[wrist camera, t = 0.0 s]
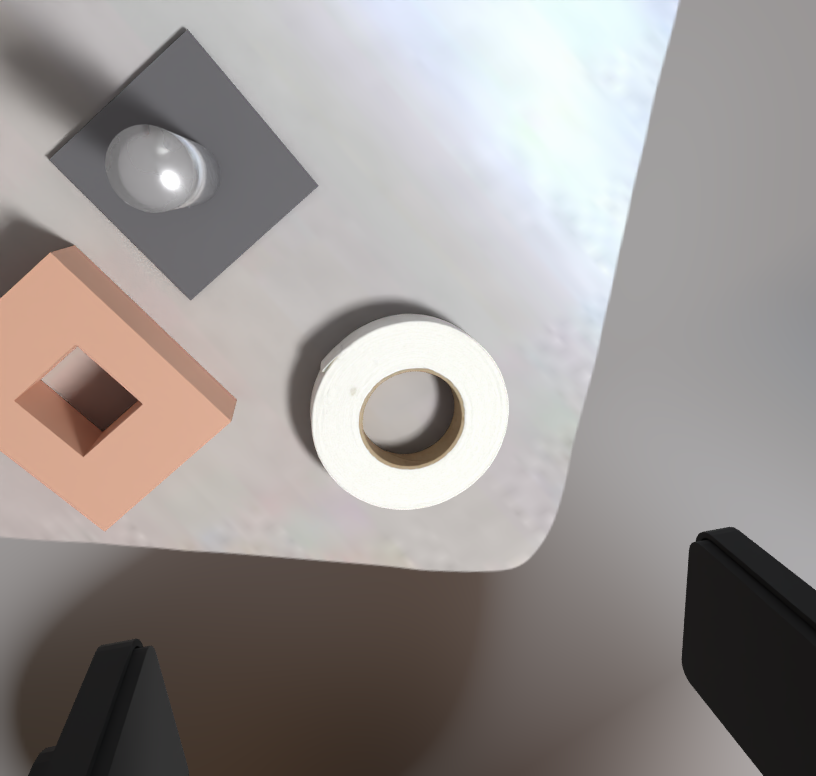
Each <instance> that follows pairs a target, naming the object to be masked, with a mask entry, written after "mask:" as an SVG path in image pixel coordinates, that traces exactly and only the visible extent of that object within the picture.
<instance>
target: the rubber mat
mask: <svg viewBox="0 0 816 776" xmlns="http://www.w3.org/2000/svg"><path fill="white" fill-rule="evenodd" d="M135 125H153V126H157V127H160V128H163V129H165V130H167V131H170V132H172V133H175V134H177V135H179V136H182V137H184V138H187V139H189V140H191V141H194V142H196V143H199V144H201V145H202V146H204V147H206V148H207V149H208V150H209V151H210V152H211V153H212V154H213V155H214V157H215V158H216V160H217V162H218V165H219V168H220V175H221V177H220V184H219V187H218V189H217V191H216V193H215V194H214V195H213V196H212V197H211V198H210V199H209V200H207V201H206V202H203V203H200V204H196V205H192V206H187V207H183V208H178V209H174V210H169V211H165V212H158V213H151V212H145V211H141V210H138V209H136V208H134V207H132V206H130V205H129V204H127V203H126V202H124V201H123V200H122V199H121V198H120V197H119V196H118V195H117V193H116V192H115V191H114V189H113V188H112V186H111V184H110V182H109V180H108V177H107V173H106V167H105V159H106V153H107V150H108V147H109V145H110V143H111V142H112V140H113V139H114V138H115V136H116V135H117V134H119V133H120V132H121V131H123V130H124V129H126V128H129V127H131V126H135ZM49 160H50V161H51V162H52V163H53V164H54V165H55V166H56V167H57V168H58V169H59V170H60V171H61V172H62V173H63V174H64V175H65V176H66V177H67V178H68V179H69V180H70V181H71V182H72V183H73V184H74V185H75V186H76V187H77V188H78V189H79V190H80V191H81V192H82V193H83V194H84V195H85V196H86V197H87V198H88V199H89V200H90V201H91V202H92V203H93V204H94V205H95V206H96V207H97V208H98V209H99V210H100V211H101V212H102V213H103V214H104V215H105V216H106V217H107V218H108V219H109V220H110V221H111V222H112V223H113V224H114V225H115V226H116V227H117V228H118V229H119V230H120V231H121V232H122V233H123V234H124V235H125V236H126V237H127V238H128V239H129V240H130V241H131V242H132V243H133V244H134V245H135V246H136V247H137V248H138V249H139V250H140V251H141V252H142V253H143V254H144V255H146V256H147V257H148V258H149V259H150V260H151V261H152V262H153V263H154V264H155V265H156V266H157V267H158V268H159V269H160V270H161V271H162V272H163V273H164V274H165V275H166V276H167V277H168V278H169V279H170V280H171V281H172V282H173V283H174V284H175V285H176V286H177V287H178V288H179V289H180V290H181V291H182V292H183V293H184V294H185V295H186V296H187V297H188V298H189V299H190V300H192V299H193V298H194V297H195V296H196V295H197V294H198V293H199V292H201V291H202V290H203V289H204V288H205V287H206V286H207V285H208V284H210V283H211V282H212V281H213V280H214V279H215V278H216V277H217V276H218V275H220V274H221V273H222V272H223V271H224V270H225V269H226V268H227V267H228V266H230V265H231V264H232V263H233V262H234V261H235V260H236V259H237V258H238V257H240V256H241V255H242V254H243V253H244V252H245V251H246V250H247V249H249V248H250V247H251V246H252V245H253V244H254V243H255V242H256V241H257V240H259V239H260V238H261V237H262V236H263V235H264V234H265V233H266V232H267V231H269V230H270V229H271V228H272V227H273V226H274V225H275V224H276V223H278V222H279V221H280V220H281V219H282V218H283V217H284V216H285V215H286V214H288V213H289V212H290V211H291V210H292V209H293V208H294V207H295V206H296V205H298V204H299V203H300V202H301V201H302V200H303V199H304V198H305V197H307V196H308V195H309V194H310V193H311V192H312V191H313V190H314V189H315V188H317V187H318V185H317V183H316V182H315V181H314V180H313V179H312V177H311V176H310V175H309V174H308V173H307V171H306V170H305V169H304V168H303V167H302V165H301V164H300V163H299V162H298V161H297V159H296V158H295V157H294V156H293V155H292V154H291V152H290V151H289V150H288V149H287V148H286V146H285V145H284V144H283V143H282V142H281V140H280V139H279V138H278V137H277V136H276V134H275V133H274V132H273V131H272V130H271V128H270V127H269V126H268V125H267V124H266V122H265V121H264V120H263V119H262V118H261V116H260V115H259V114H258V113H257V112H256V111H255V109H254V108H253V107H252V106H251V105H250V103H249V102H248V101H247V100H246V99H245V97H244V96H243V95H242V94H241V93H240V91H239V90H238V89H237V88H236V87H235V85H234V84H233V83H232V82H231V81H230V79H229V78H228V77H227V76H226V75H225V73H224V72H223V71H222V70H221V69H220V67H219V66H218V65H217V64H216V63H215V62H214V60H213V59H212V58H211V57H210V56H209V54H208V53H207V52H206V51H205V50H204V48H203V47H202V46H201V45H200V44H199V42H198V41H197V40H196V39H195V38H194V36H193V35H192V34H191V33H190V32H189V30H188V29H187V30H186V31H185V32H184V33H183V34H182V35H181V36H180V37H179V38H178V39H177V40H176V41H174V42H173V43H172V44H171V45H170V46H169V47H168V48H167V49H166V50H165V51H164V52H163V53H162V54H161V55H160V56H159V57H157V58H156V59H155V60H154V61H153V62H152V63H151V64H150V65H149V66H148V67H147V68H146V69H145V70H144V71H143V72H142V73H140V74H139V75H138V76H137V77H136V78H135V79H134V80H133V81H132V82H131V83H130V84H129V85H128V86H127V87H126V88H125V89H123V90H122V91H121V92H120V93H119V94H118V95H117V96H116V97H115V98H114V99H113V100H112V101H111V102H110V103H109V104H108V105H106V106H105V107H104V108H103V109H102V110H101V111H100V112H99V113H98V114H97V115H96V116H95V117H94V118H93V119H92V120H91V121H89V122H88V123H87V124H86V125H85V126H84V127H83V128H82V129H81V130H80V131H79V132H78V133H77V134H76V135H75V136H74V137H72V138H71V139H70V140H69V141H68V142H67V143H66V144H65V145H64V146H63V147H62V148H61V149H60V150H59V151H58V152H57V153H55V154H54V155H53V156H52V157H51V158H50V159H49Z"/></svg>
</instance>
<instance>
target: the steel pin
mask: <svg viewBox="0 0 816 776" xmlns="http://www.w3.org/2000/svg"><path fill="white" fill-rule="evenodd" d="M105 167H106V173H107V177H108V180H109V182H110V184H111V186H112V188H113V189H114V191H115V192H116V193H117V195H118V196H119V197H120V198H121V199H122V200H123V201H124V202H126V203H127V204H129V205H130V206H132V207H134V208H136V209H138V210H141V211H145V212H151V213H158V212H165V211H169V210H174V209H178V208H183V207H187V206H192V205H196V204H200V203H203V202H206V201H207V200H209V199H210V198H211V197H212V196H213V195H214V194H215V193H216V191H217V189H218V187H219V184H220V177H221V175H220V168H219V165H218V162H217V160H216V158H215V157H214V155H213V154H212V153H211V152H210V151H209V150H208V149H207V148H206V147H204V146H202V145H201V144H199V143H196V142H194V141H191V140H189V139H187V138H184V137H182V136H179V135H177V134H175V133H172V132H170V131H167V130H165V129H163V128H160V127H157V126H153V125H135V126H131V127H129V128H126V129H124V130H123V131H121V132H120V133H119V134H117V135H116V136H115V138H114V139H113V140H112V142H111V143H110V145H109V147H108V150H107V153H106V159H105Z"/></svg>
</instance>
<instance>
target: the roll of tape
mask: <svg viewBox="0 0 816 776" xmlns="http://www.w3.org/2000/svg"><path fill="white" fill-rule="evenodd" d="M320 367H321V369H320V371H319V373H318V375H317V378H316V380H315V383H314V387H313V391H312V395H311V403H310V418H311V429H312V437H313V441H314V445H315V449H316V451H317V454H318V457H319V459H320V461H321V463H322V464H323V466H324V468H325V469H326V471H327V472H328V474H329V475H330V476H331V477H332V478H333V480H334V481H335V482H336V483H337V484H338V485H339V486H340V487H342V488H343V489H344V490H345V491H346V492H348V493H349V494H351V495H352V496H354V497H356V498H358V499H360V500H362V501H364V502H366V503H369V504H372V505H375V506H378V507H382V508H388V509H397V510H410V509H419V508H424V507H429V506H433V505H436V504H439V503H442V502H444V501H446V500H449V499H451V498H452V497H454V496H456V495H458V494H459V493H461V492H463V491H464V490H466V489H467V488H468V487H469V486H471V485H472V484H473V483H474V482H475V481H477V480H478V479H479V478H480V477H481V476H482V475H483V474H484V472H485V471H486V470H487V469H488V468H489V466H490V465H491V463H492V462H493V460H494V459H495V457H496V455H497V453H498V451H499V449H500V446H501V444H502V442H503V439H504V436H505V432H506V428H507V422H508V413H509V408H508V395H507V390H506V386H505V383H504V380H503V377H502V375H501V372H500V370H499V368H498V366H497V364H496V363H495V361H494V360H493V358H492V357H491V356H490V354H489V353H488V352H487V351H486V350H485V349H484V348H483V347H482V346H481V345H480V344H479V343H478V342H477V341H476V340H474V339H473V338H472V337H471V336H470V335H468V334H467V333H466V332H464V331H463V330H462V329H460V328H458V327H457V326H455V325H453V324H451V323H449V322H447V321H444V320H442V319H439V318H436V317H432V316H427V315H421V314H398V315H392V316H387V317H383V318H380V319H377V320H375V321H372V322H370V323H368V324H366V325H364V326H362V327H360V328H358V329H357V330H355V331H354V332H352V333H351V334H349V335H348V336H347V337H345V338H344V339H343V340H342V341H341V342H340V343H339V344H338V345H336V346H335V347H334V348H333V349H332V350H331V351H330V352H329V353H328V354H327V356H326V357H325V358H324V359H323V360H322V361H321V365H320ZM411 371H421V372H427V373H430V374H433V375H436V376H438V377H440V378H441V379H443V380H444V381H445V382H447V383H448V384H449V386H450V388H451V391H452V394H453V398H454V414H453V418H452V421H451V424H450V426H449V428H448V429H447V431H446V433H445V434H444V435H443V436H442V437H441V438H440V439H439V440H438V441H437V442H436V443H435V444H434V445H432V446H431V447H429V448H427V449H425V450H422V451H419V452H416V453H411V454H397V453H392V452H388V451H384V450H382V449H381V448H379V447H378V446H376V445H375V444H374V443H373V442H372V441H371V440H370V439H369V438H368V437H367V435H366V434H365V432H364V430H363V423H362V420H363V412H364V408H365V406H366V403H367V401H368V399H369V397H370V396H371V394H372V393H373V392H374V390H375V389H376V388H377V387H378V386H379V385H380V384H381V383H383V382H384V381H385V380H387V379H389V378H390V377H393V376H395V375H397V374H401V373H404V372H411Z"/></svg>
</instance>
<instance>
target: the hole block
mask: <svg viewBox="0 0 816 776" xmlns="http://www.w3.org/2000/svg"><path fill="white" fill-rule="evenodd" d="M77 346H78V347H79V348H80V349H81V350H82V351H84V352H85V353H86V354H87V355H88V356H89V357H90V358H91V359H93V360H94V361H95V362H96V363H97V364H98V365H99V366H100V367H102V368H103V369H104V370H105V371H106V372H107V373H108V374H110V375H111V376H112V377H113V378H114V379H115V380H116V381H117V382H119V383H120V384H121V385H122V386H123V387H124V388H125V389H126V390H128V391H129V392H130V393H131V394H132V395H133V396H134V397H135V398H137V399H138V401H137V402H136V403H135V404H134V405H132V406H131V407H130V408H129V409H128V410H127V411H126V412H125V413H123V414H122V415H121V416H120V417H119V418H118V419H117V420H116V421H114V422H113V423H112V424H111V425H110V426H109V427H108V428H107V429H105V430H104V431H103V432H102V431H101V430H100V429H98V428H97V427H96V426H95V425H94V424H93V423H91V422H90V421H89V420H88V419H87V418H85V417H84V416H83V415H82V414H81V413H79V412H78V411H77V410H76V409H75V408H74V407H72V406H71V405H70V404H69V403H68V402H66V401H65V400H64V399H63V398H62V397H60V396H59V395H58V394H57V393H56V392H55V391H53V390H52V389H51V388H50V387H49V386H47V385H46V384H45V383H44V382H43V381H41V379H42V378H43V377H44V376H45V375H46V374H47V373H48V372H50V371H51V370H52V369H53V368H54V367H55V366H56V365H57V364H58V363H59V362H61V361H62V360H63V359H64V358H65V357H66V356H67V355H68V354H69V353H71V352H72V351H73V350H74V349H75V348H76V347H77ZM236 401H237V400H236V399H235V398H234V397H233V396H232V395H231V394H230V393H229V392H228V391H227V390H226V389H225V388H224V387H223V386H222V385H221V384H220V383H219V382H218V381H217V380H215V379H214V378H213V377H212V376H211V375H210V374H209V373H208V372H207V371H206V370H205V369H204V368H203V367H202V366H201V365H200V364H199V363H198V362H197V361H196V360H195V359H193V358H192V357H191V356H190V355H189V354H188V353H187V352H186V351H185V350H184V349H183V348H182V347H181V346H180V345H179V344H178V343H177V342H176V341H175V340H174V339H173V338H171V337H170V336H169V335H168V334H167V333H166V332H165V331H164V330H163V329H162V328H161V327H160V326H159V325H158V324H157V323H156V322H155V321H154V320H153V319H152V318H151V317H149V316H148V315H147V314H146V313H145V312H144V311H143V310H142V309H141V308H140V307H139V306H138V305H137V304H136V303H135V302H134V301H133V300H132V299H131V298H130V297H129V296H127V295H126V294H125V293H124V292H123V291H122V290H121V289H120V288H119V287H118V286H117V285H116V284H115V283H114V282H113V281H112V280H111V279H110V278H109V277H108V276H106V275H105V274H104V273H103V272H102V271H101V270H100V269H99V268H98V267H97V266H96V265H95V264H94V263H93V262H92V261H91V260H90V259H89V258H88V257H87V256H86V255H84V254H83V253H82V252H81V251H80V250H79V249H78V248H77V247H76V246H75V245H74V246H71V247H67V248H64V249H60V250H57V251H53V252H50V253H49V254H48V255H47V256H46V257H45V258H44V259H43V260H41V261H40V262H39V263H38V264H37V265H36V266H35V267H34V268H33V269H32V270H31V271H30V272H28V273H27V274H26V275H25V276H24V277H23V278H22V279H21V280H20V281H19V282H18V283H17V284H16V285H14V286H13V287H12V288H11V289H10V290H9V291H8V292H7V293H6V294H5V295H4V296H3V297H1V298H0V451H1V452H3V453H4V454H5V455H6V456H8V457H9V458H10V459H12V460H13V461H14V462H16V463H17V464H18V465H19V466H21V467H22V468H23V469H25V470H26V471H27V472H28V473H30V474H31V475H32V476H34V477H35V478H36V479H38V480H39V481H40V482H41V483H43V484H44V485H45V486H47V487H48V488H49V489H50V490H52V491H53V492H54V493H56V494H57V495H58V496H59V497H61V498H62V499H63V500H65V501H66V502H67V503H69V504H70V505H71V506H72V507H74V508H75V509H76V510H78V511H79V512H80V513H81V514H83V515H84V516H85V517H87V518H88V519H89V520H91V521H92V522H93V523H94V524H96V525H97V526H98V527H100V528H101V529H102V530H103V531H106V530H107V529H108V528H109V527H111V526H112V525H113V524H114V523H115V522H116V521H117V520H119V519H120V518H121V517H122V516H123V515H124V514H125V513H127V512H128V511H129V510H130V509H131V508H132V507H134V506H135V505H136V504H137V503H138V502H139V501H140V500H142V499H143V498H144V497H145V496H146V495H147V494H148V493H150V492H151V491H152V490H153V489H154V488H155V487H156V486H158V485H159V484H160V483H161V482H162V481H163V480H164V479H166V478H167V477H168V476H169V475H170V474H171V473H173V472H174V471H175V470H176V469H177V468H178V467H179V466H181V465H182V464H183V463H184V462H185V461H186V460H187V459H189V458H190V457H191V456H192V455H193V454H194V453H195V452H197V451H198V450H199V449H200V448H201V447H202V446H204V445H205V444H206V443H207V442H208V441H209V440H210V439H212V438H213V437H214V436H215V435H216V434H217V433H218V432H220V431H221V430H222V429H223V428H224V427H225V426H226V425H228V424H229V423H230V422H231V420H232V417H233V413H234V409H235V405H236Z"/></svg>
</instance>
